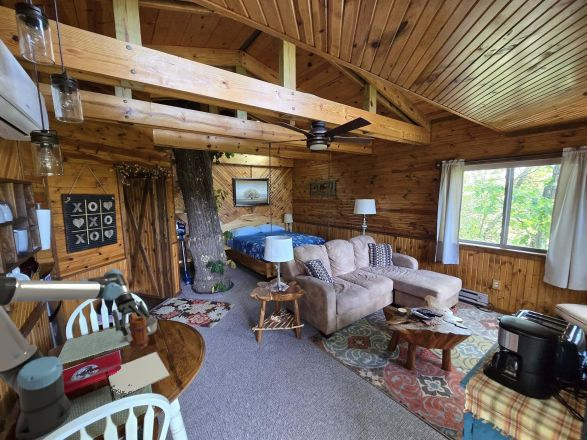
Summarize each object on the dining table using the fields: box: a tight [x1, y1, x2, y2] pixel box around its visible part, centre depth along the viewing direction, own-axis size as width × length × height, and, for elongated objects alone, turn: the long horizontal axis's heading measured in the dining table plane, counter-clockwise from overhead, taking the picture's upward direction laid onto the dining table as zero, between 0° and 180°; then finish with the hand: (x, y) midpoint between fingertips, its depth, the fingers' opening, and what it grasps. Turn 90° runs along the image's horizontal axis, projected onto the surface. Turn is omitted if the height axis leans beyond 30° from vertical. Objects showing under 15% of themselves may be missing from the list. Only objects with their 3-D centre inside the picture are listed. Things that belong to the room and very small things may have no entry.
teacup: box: [147, 317, 158, 337], centre depth 153 cm, size 14×11×8 cm
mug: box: [127, 312, 151, 351], centre depth 118 cm, size 15×8×15 cm, turn 49°
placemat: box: [108, 351, 171, 402], centre depth 120 cm, size 22×24×1 cm
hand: (140, 336), depth 116 cm, fingers closed on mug, 8 cm apart
